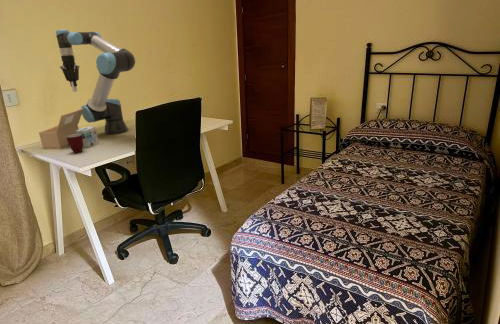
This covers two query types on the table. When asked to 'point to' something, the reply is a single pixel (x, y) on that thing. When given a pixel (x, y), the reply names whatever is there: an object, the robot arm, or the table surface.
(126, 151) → the table surface
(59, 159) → the table surface
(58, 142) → the carton
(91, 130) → the light bulb box
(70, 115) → the box lid
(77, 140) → the mug
